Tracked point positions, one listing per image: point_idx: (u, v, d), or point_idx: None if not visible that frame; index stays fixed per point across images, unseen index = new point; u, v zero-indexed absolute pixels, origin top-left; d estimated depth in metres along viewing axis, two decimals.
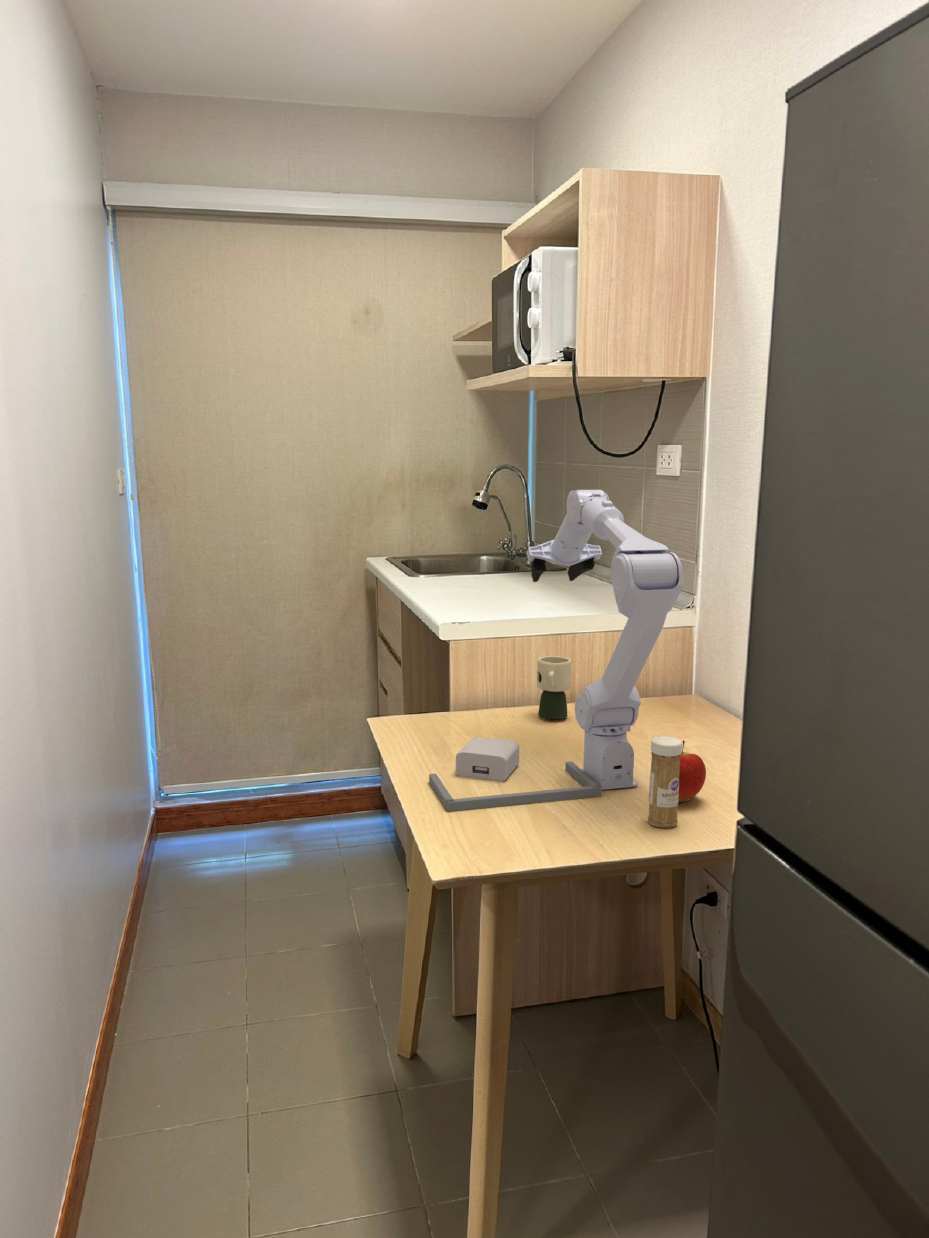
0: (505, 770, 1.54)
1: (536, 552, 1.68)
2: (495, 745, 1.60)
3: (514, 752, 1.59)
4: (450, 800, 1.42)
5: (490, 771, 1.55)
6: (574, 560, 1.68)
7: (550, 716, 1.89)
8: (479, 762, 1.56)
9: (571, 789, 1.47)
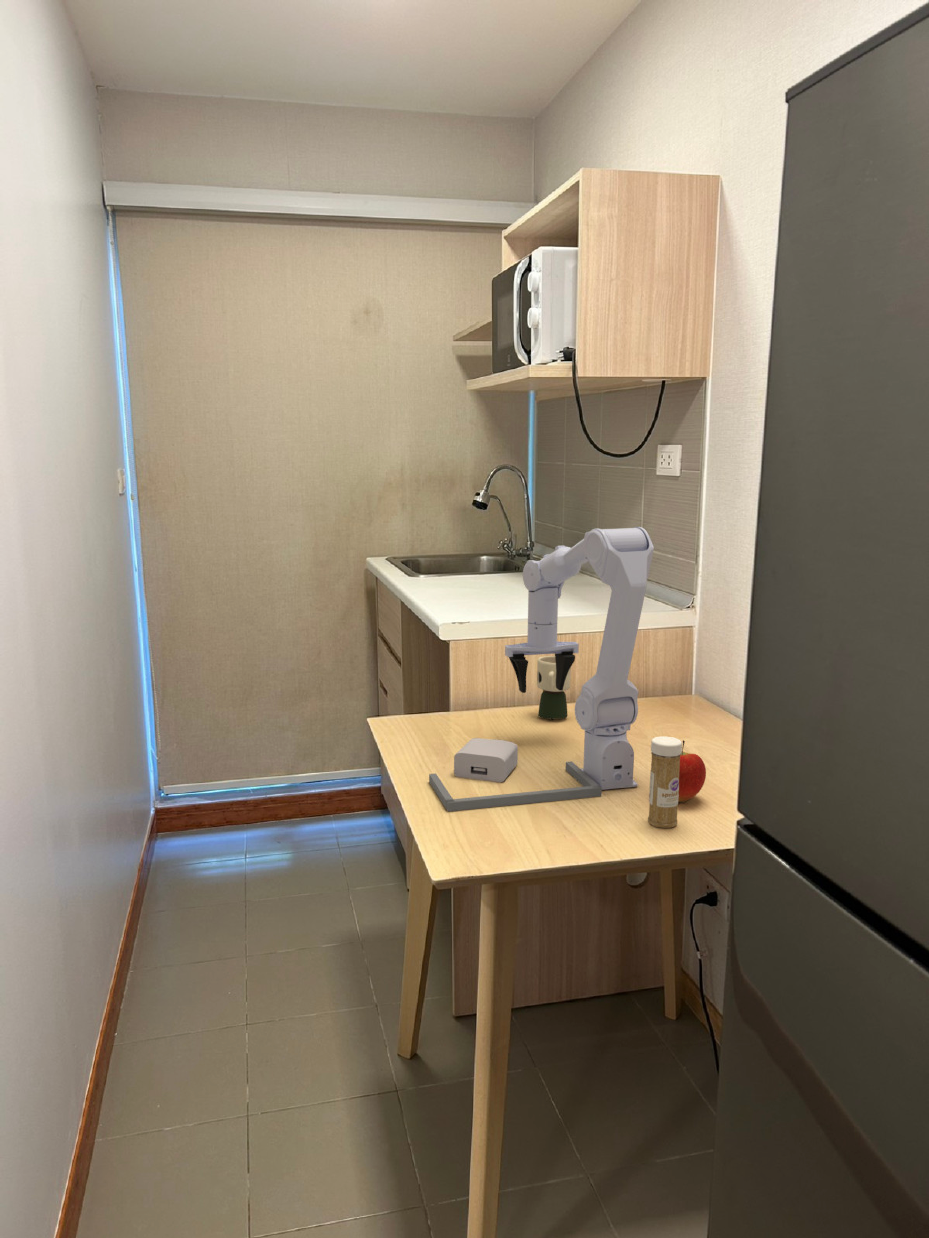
0: (503, 771, 1.54)
1: (513, 647, 1.71)
2: (494, 745, 1.60)
3: (512, 753, 1.59)
4: (450, 800, 1.42)
5: (488, 772, 1.55)
6: (551, 644, 1.71)
7: (550, 716, 1.89)
8: (478, 762, 1.55)
9: (571, 789, 1.47)
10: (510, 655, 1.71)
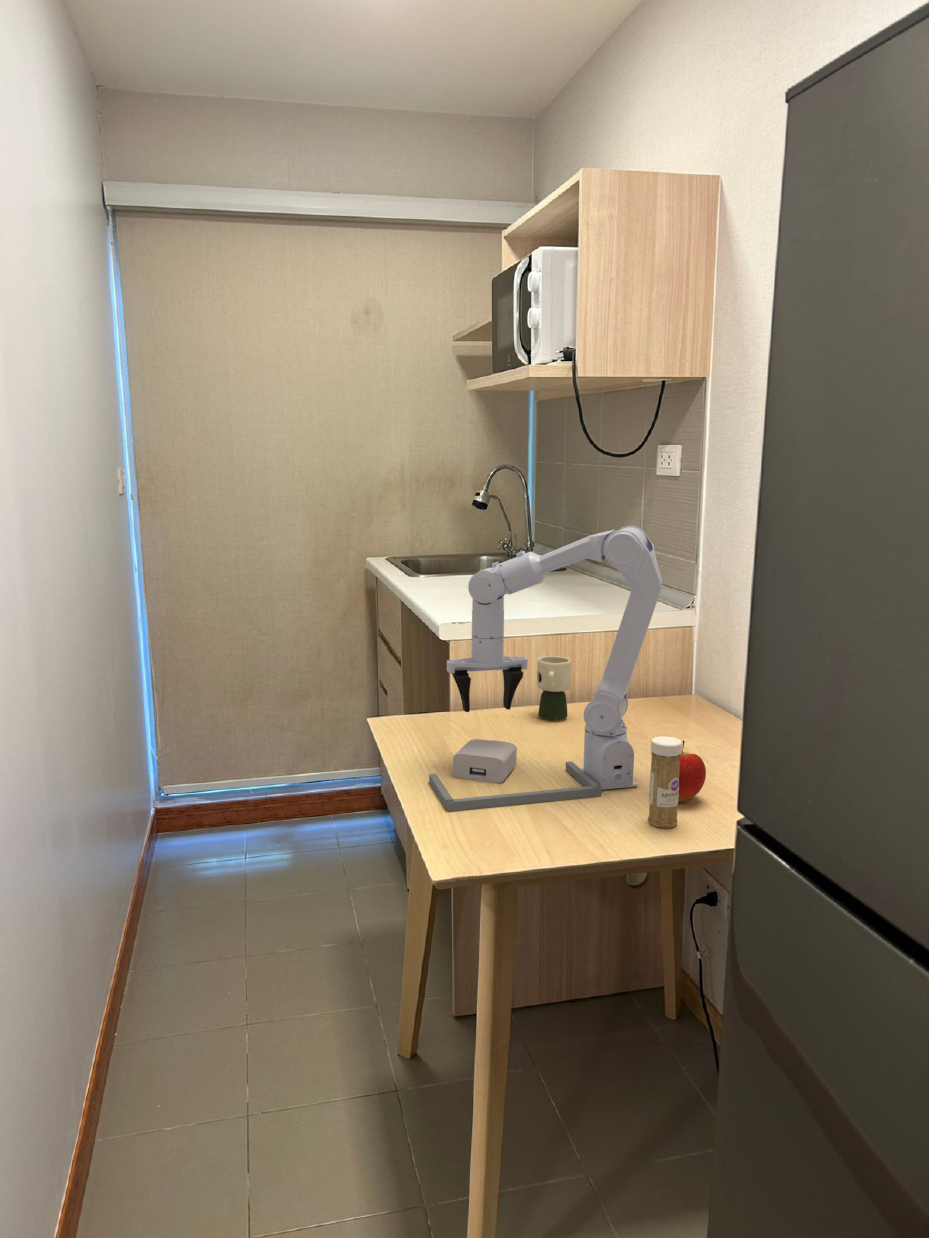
0: (502, 772, 1.54)
1: (455, 662, 1.58)
2: (493, 746, 1.59)
3: (511, 754, 1.58)
4: (450, 800, 1.42)
5: (487, 773, 1.54)
6: (496, 660, 1.57)
7: (550, 716, 1.89)
8: (476, 763, 1.55)
9: (571, 789, 1.47)
10: (452, 671, 1.57)
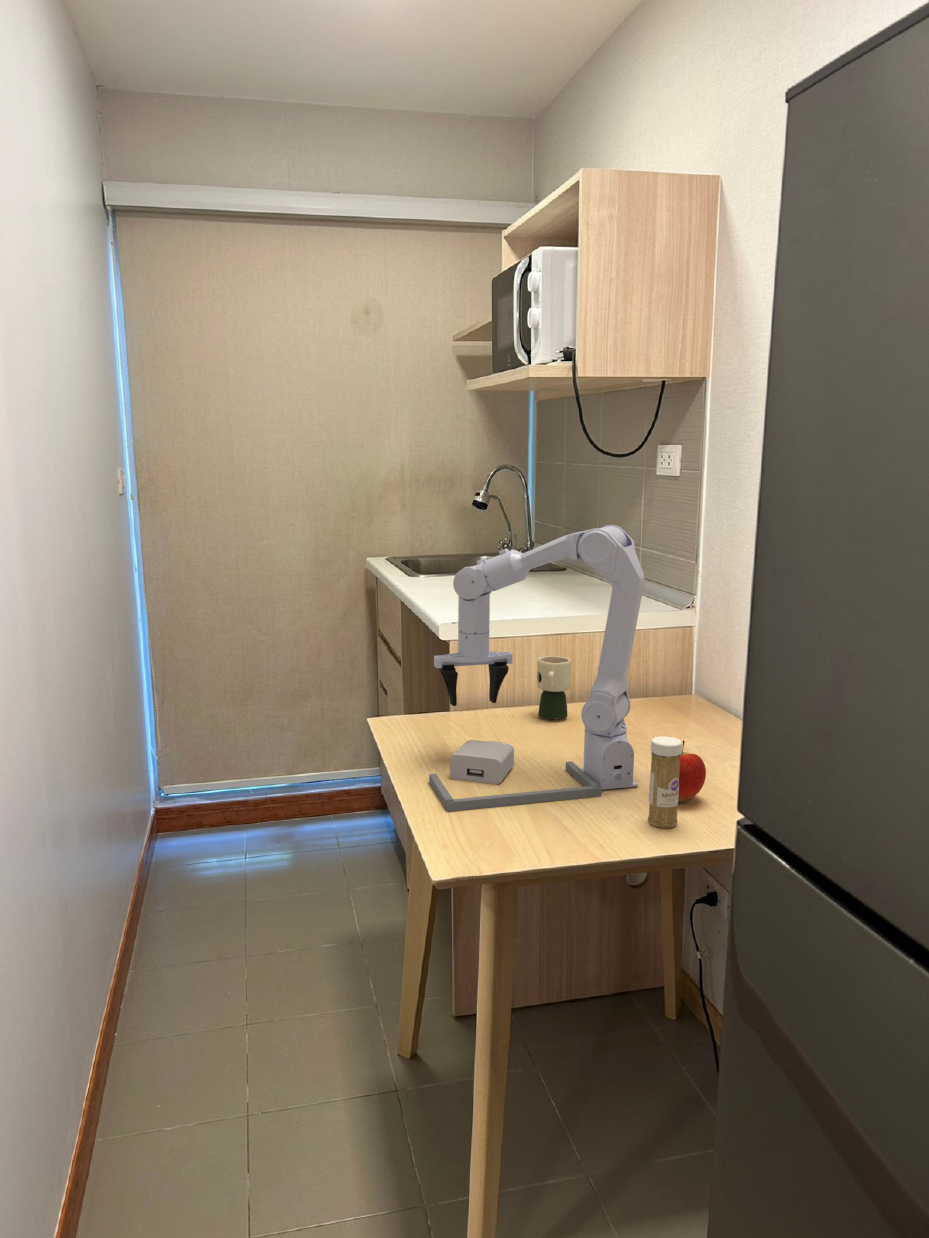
0: (500, 773, 1.53)
1: (442, 657, 1.62)
2: (490, 747, 1.59)
3: (509, 754, 1.58)
4: (450, 800, 1.42)
5: (485, 774, 1.54)
6: (482, 655, 1.61)
7: (550, 716, 1.89)
8: (474, 764, 1.54)
9: (571, 789, 1.47)
10: (439, 666, 1.61)
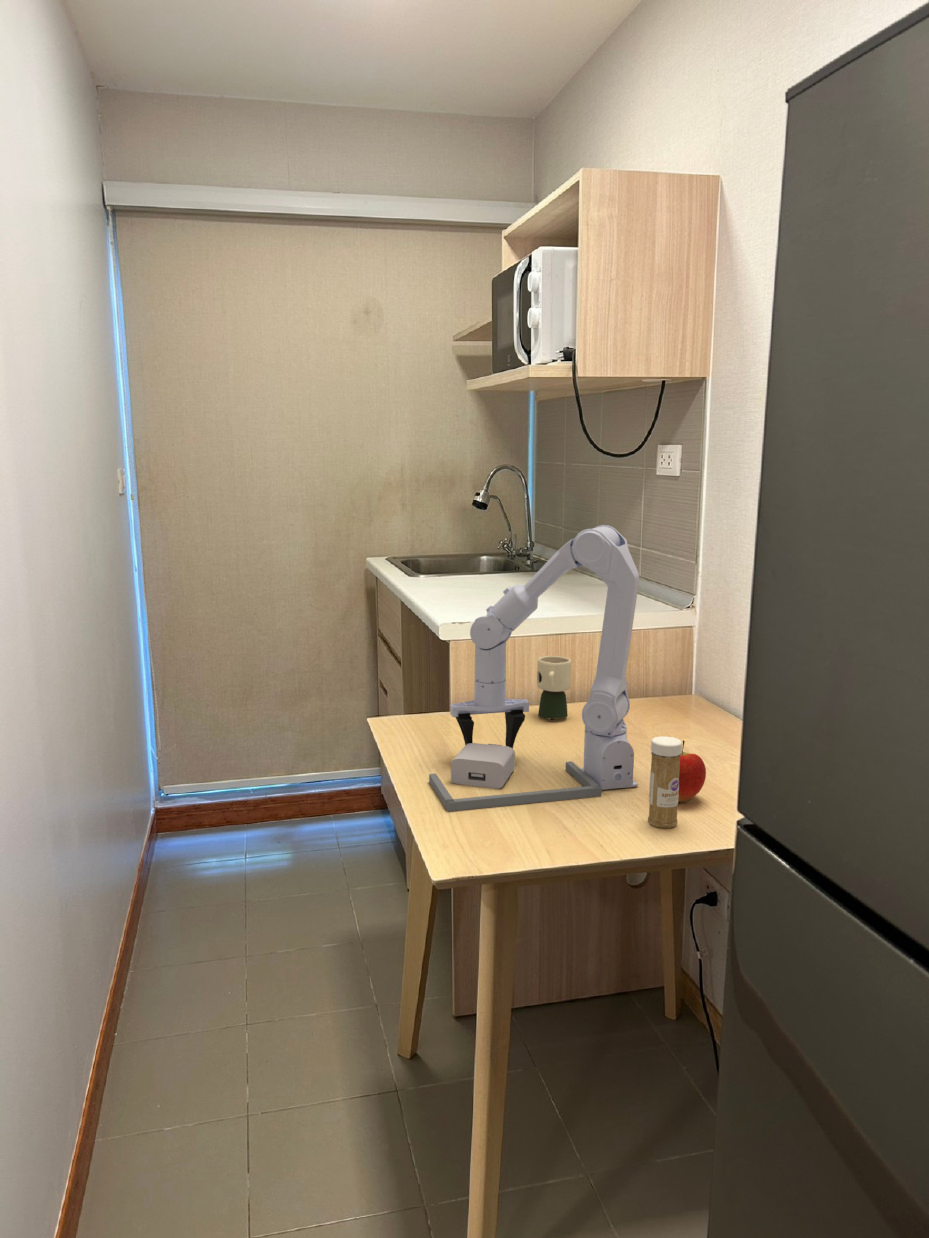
0: (502, 776, 1.51)
1: (459, 706, 1.62)
2: (491, 750, 1.57)
3: (510, 758, 1.56)
4: (450, 800, 1.42)
5: (486, 777, 1.52)
6: (499, 704, 1.61)
7: (550, 716, 1.89)
8: (475, 768, 1.52)
9: (571, 789, 1.47)
10: (455, 715, 1.61)
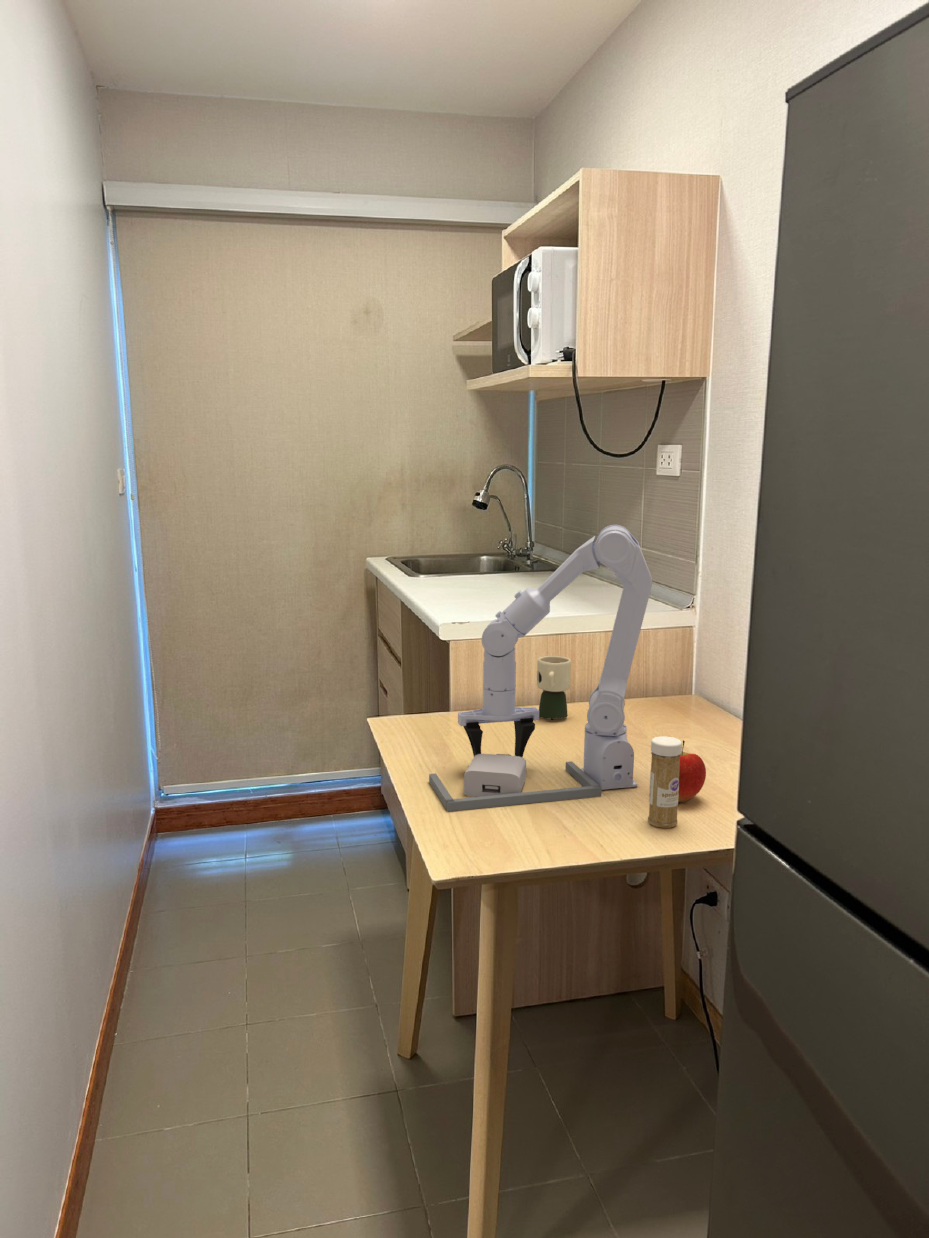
0: (518, 788, 1.46)
1: (467, 715, 1.56)
2: (503, 761, 1.52)
3: (523, 768, 1.51)
4: (450, 800, 1.42)
5: (502, 790, 1.47)
6: (508, 712, 1.55)
7: (550, 716, 1.89)
8: (490, 780, 1.47)
9: (571, 789, 1.47)
10: (463, 724, 1.55)
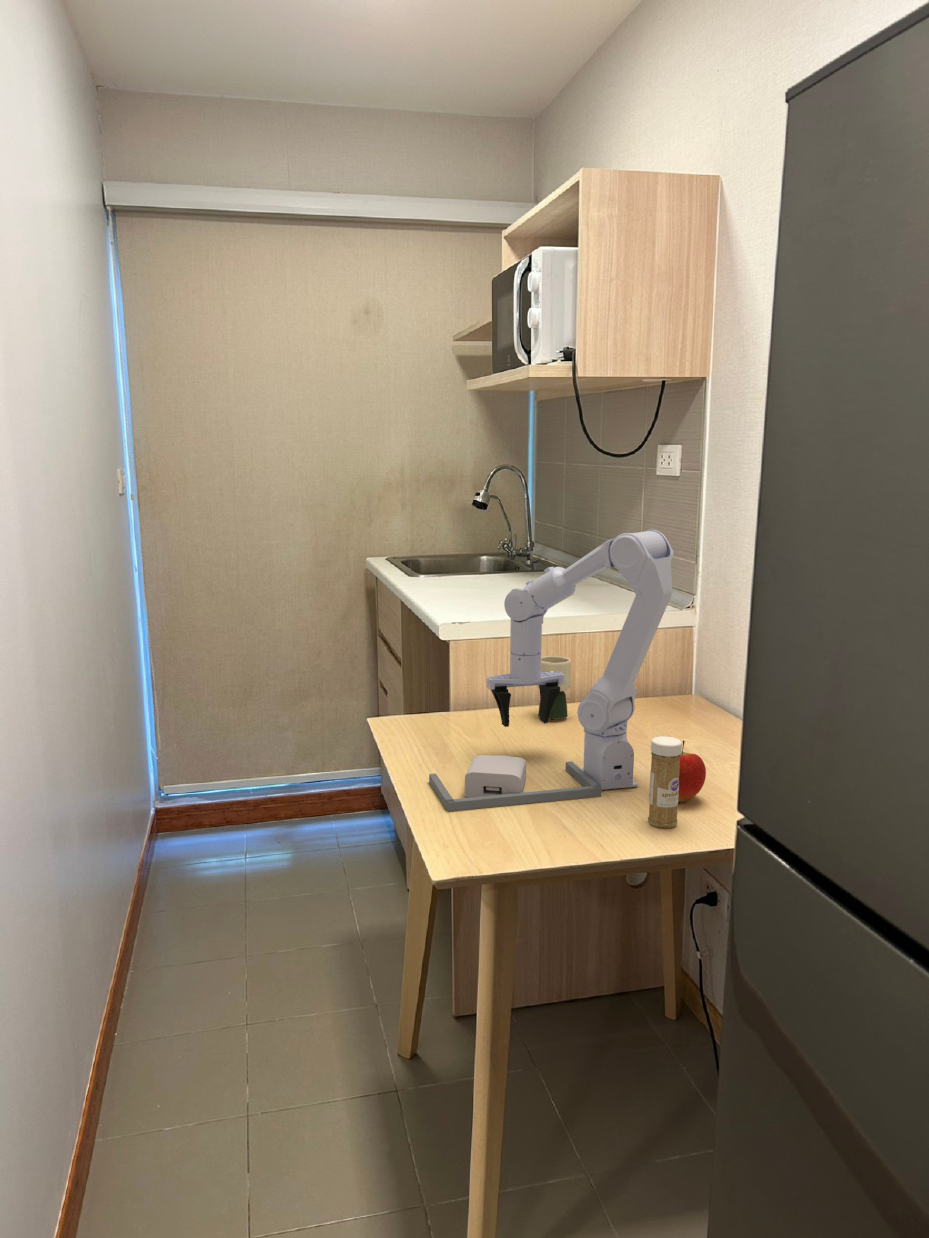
0: (519, 789, 1.46)
1: (495, 679, 1.63)
2: (503, 762, 1.51)
3: (524, 769, 1.51)
4: (450, 800, 1.42)
5: (503, 791, 1.46)
6: (535, 676, 1.62)
7: (550, 716, 1.89)
8: (491, 782, 1.46)
9: (571, 789, 1.47)
10: (492, 688, 1.62)
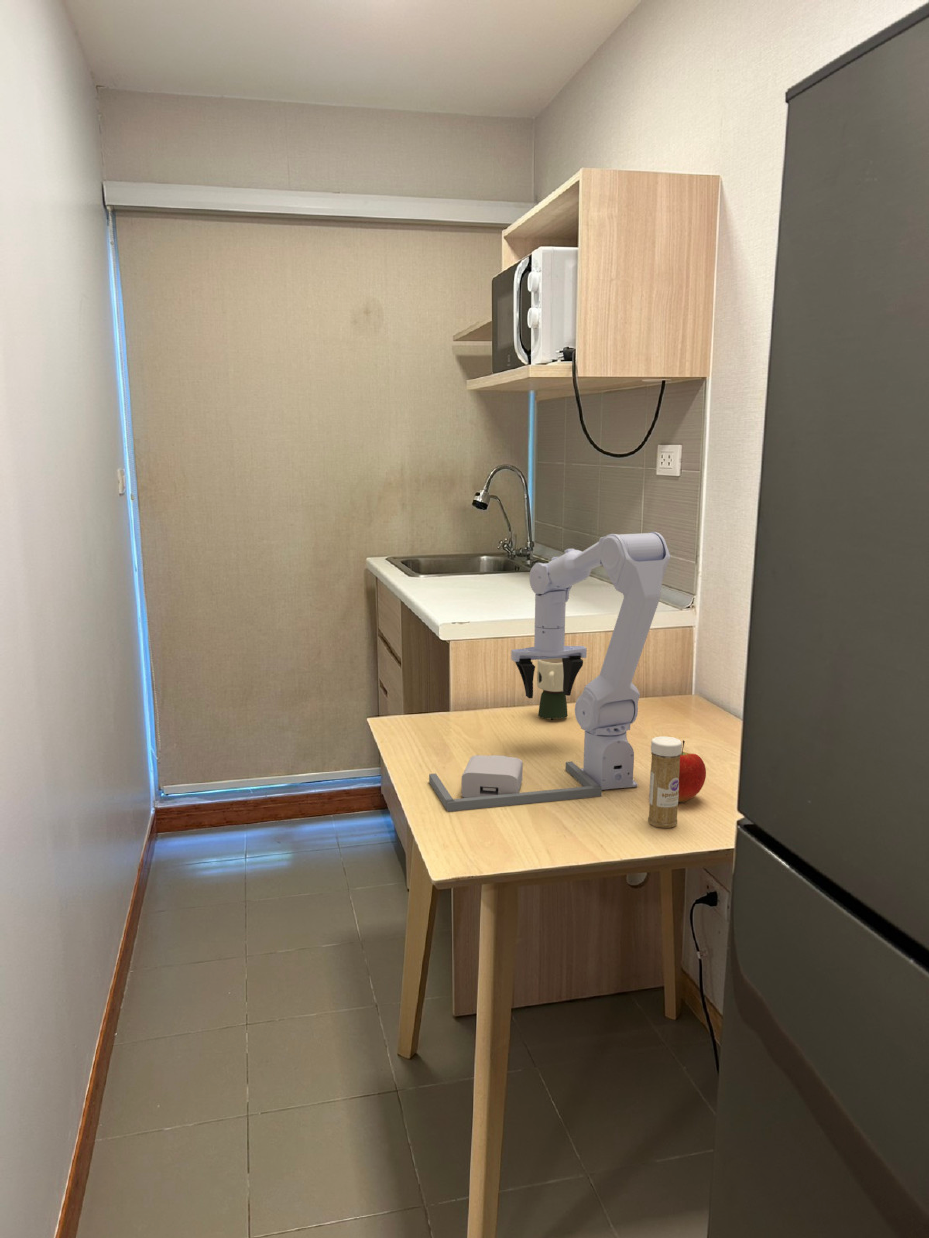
0: (516, 789, 1.46)
1: (520, 651, 1.67)
2: (500, 762, 1.51)
3: (520, 769, 1.51)
4: (450, 800, 1.42)
5: (499, 791, 1.46)
6: (559, 649, 1.67)
7: (550, 716, 1.89)
8: (488, 782, 1.46)
9: (571, 789, 1.47)
10: (517, 660, 1.67)
